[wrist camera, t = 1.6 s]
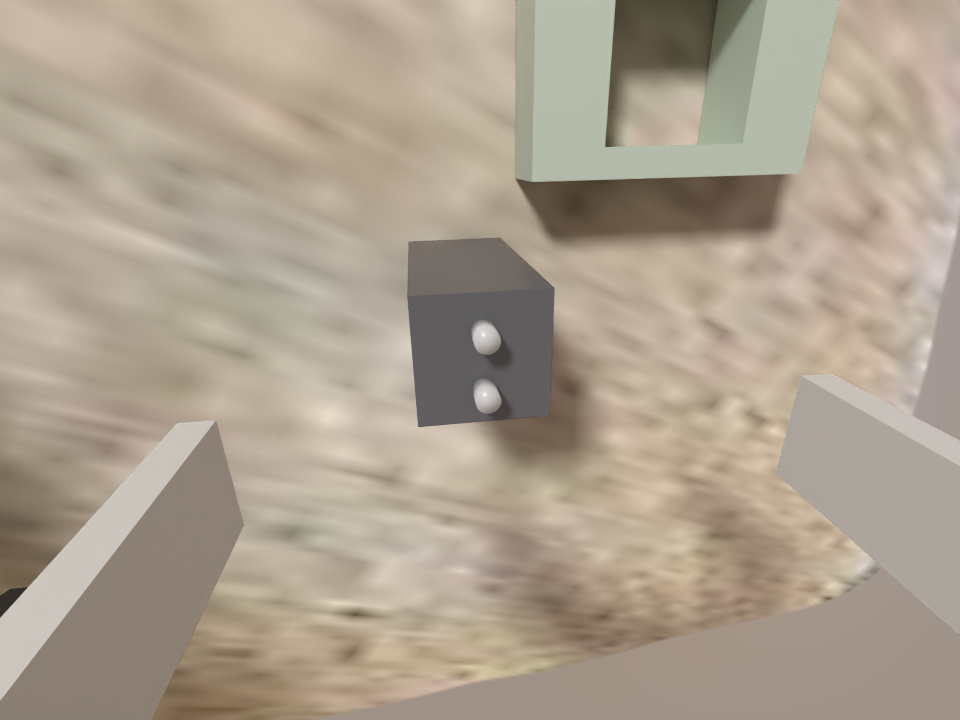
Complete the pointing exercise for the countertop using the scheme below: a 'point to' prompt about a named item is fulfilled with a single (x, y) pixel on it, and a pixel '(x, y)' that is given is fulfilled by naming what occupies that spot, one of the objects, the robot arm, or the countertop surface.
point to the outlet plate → (727, 102)
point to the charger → (478, 332)
